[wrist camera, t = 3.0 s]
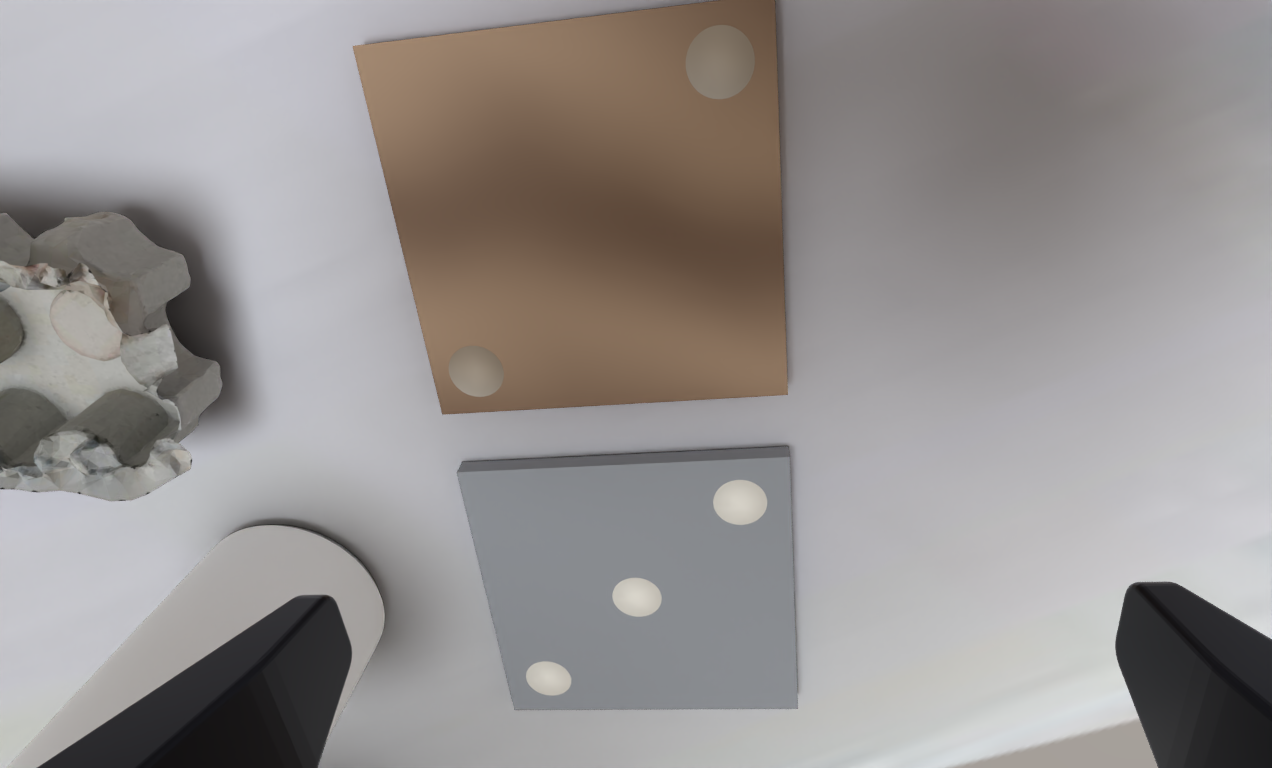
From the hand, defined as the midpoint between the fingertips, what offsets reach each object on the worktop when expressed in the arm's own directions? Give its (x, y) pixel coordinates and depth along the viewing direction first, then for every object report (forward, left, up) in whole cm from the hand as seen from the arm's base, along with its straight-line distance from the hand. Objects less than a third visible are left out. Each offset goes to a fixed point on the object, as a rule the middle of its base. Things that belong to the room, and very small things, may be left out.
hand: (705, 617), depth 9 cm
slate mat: (-11, +3, -13) cm, 17 cm away
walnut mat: (+1, +3, -13) cm, 14 cm away
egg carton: (+2, +20, -14) cm, 25 cm away
